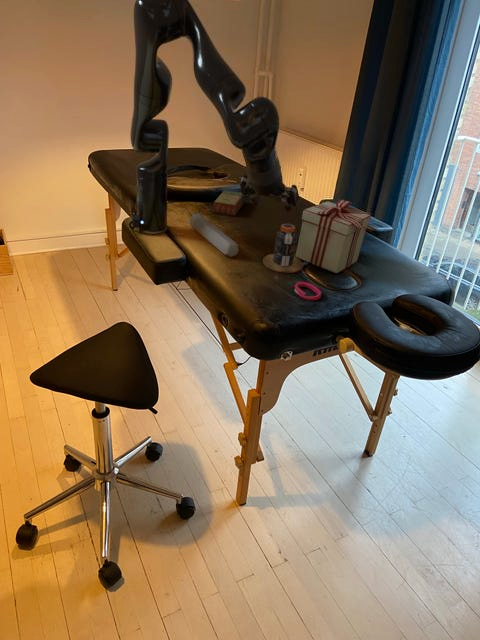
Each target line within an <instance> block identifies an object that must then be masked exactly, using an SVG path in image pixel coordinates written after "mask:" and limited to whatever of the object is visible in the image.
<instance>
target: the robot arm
mask: <svg viewBox="0 0 480 640" xmlns="http://www.w3.org/2000/svg"><path fill="white" fill-rule="evenodd" d="M133 31H134V32H133V33H134V47H135V60H134V74H133V75H134V76H133V110H132V117H131V122H130V123H131V124H130V132H129V133H130V134H129V136H130V137H129V138H130V139H129V140H130V144H131V147H132V149H133V150H134V151H135V152H137V153H145V154H147V153H148V154H155V155H154V156H153V157H152V158H150V159H148V160H145V161H143V162H140V163H138V164H137V166H136V197H135V201H136V202H135V205H136V207H135V208H136V214H131V220H130V221H129V222H128V228H129V229H131V230H132V231H133V230H134V229H137V230H138V233H139V234H146V235H160V234H164V233H166V232H167V231H168V160H169V158H168V157H169V143H170V142H169V141H170V128H169V125H168V122H167V121H166V120H165V119H159V118H156V117H158V115H159V114H161V113H162V112H163V111H165V109H166V108H167V106H168V105H169V103H170V100H171V95H172V90H173V76H172V73H171V71H170V68H169V67H168V65H166V63H165V62H164V61H163V59H161V58H160V56H159V55H158V52H159V49H160V47H161V46H163V45H166V44H168V43H170V42H174V41H176V40H179V39H181V38H183V39H185V40H186V41H187V42H188V43H189V44H190V46H191V48H192V49H191V50H192V63H193V64H192V66H193V68H192V69H193V75H194V79H195V81H196V83H197V85H198V87H199V89H200V90H201V91H202V92H203V94H204V95H205V96H206V97H207V99H208V100H209V101H210V103H211V104H212V105H213V106H214V108H215V109H216V111H217V113H218V115H219V117H220V119H221V121H222V123H223V127H224V129H225V132H226V135H227V137H228V139H229V141H230V143H231V144H232V146H234V147H235V148H236V149H238V150H241V153H242V157H243V159H244V160H243V161H244V162H245V169H246V174H243V175H242V177H241V179H240V182H239V187H240V192H241V193H242V194H243V195H244V197H247V196H248V197H249V198H250V200H251V202H252V204H254V205H255V206H258V205H259V202H260V201H261V200H260V199H261V198H260V196H263V197H269V198H272V199H274V200H275V201H276V202H277V203H282V204H283V205H284V209H285V213H289V212H290V211H292V210H293V207H297V206H298V202H299V200H300V193H299V190H298V189H299V188H298V186H297V185H296V184H291V186H286V184H285V183H284V179H283V172H282V166H281V163H280V159H279V156H278V154H277V147H276V145H277V141H278V136H279V131H280V115H279V111H278V109H277V106H276V104H275V103H274V101H272V100H271V99H270V98H268V97H265V96H256V97H255V98H253V99H252V100H250V101H248V103H246V104H244V105H243V106H242V107H240V106H241V104H243V102H244V100H245V98H246V95H247V89H246V86H245V84H244V83H243V81H242V80H241V79H240V77H239V76H238V75H237V73H236V72H235V71H234V70H233V69H232V68H231V66H230V65H229V63H228V62H226V60H225V59H224V57H223V56H222V55H221V54H220V52H219V51H218V49H217V48H216V46H215V44H214V43H213V40H212V39H211V37H210V36H209V35H210V34H209V33H208V31H207V29H206V28H205V26H204V24H203V23H202V21H201V19H200V17H199V16H198V14H197V12H196V10H195V9H194V8H193V5H192V4H191V2H190V1H189V0H135V2H134V5H133ZM239 107H240V108H239ZM238 108H239V109H238Z"/></svg>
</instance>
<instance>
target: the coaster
mask: <svg viewBox="0 0 480 640" xmlns="http://www.w3.org/2000/svg"><path fill="white" fill-rule="evenodd" d="M273 256H274V253H270V254H267V255H265V256H264V257H262V265H264V267H266V268H267V269H269V270H271V271H274V272H278V273H283V274H284V273H285V274H291V273H293V274H294V273H298V272H300V271H301V270H303V268H304V261H303V260H302V259H299V258H297V257H295V256H294V259H293V264H292V265H290V266H280V265H277V264H275V263H274V262H273Z"/></svg>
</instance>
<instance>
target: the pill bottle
mask: <svg viewBox="0 0 480 640" xmlns="http://www.w3.org/2000/svg"><path fill="white" fill-rule="evenodd" d="M297 241H298V235H297V233H296V226H295V225H294V224H291V223H282V224H281V225H280V230H279V231H277V232H276V235H275V243H274V249H273V254H274V256H273V262H274V263H275V264H277V265H280V266H290V265H292V264H293V259H294V257H295V254H296V248H297Z"/></svg>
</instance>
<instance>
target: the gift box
mask: <svg viewBox="0 0 480 640" xmlns="http://www.w3.org/2000/svg"><path fill="white" fill-rule="evenodd" d="M337 201H338V202H337V203H335V202H331V201H325V202H322V203H319V204H317V205H313V206H311V207H308V208H305V209H303V211H302V215H301V221H302V223H301V228H300V233H299V237H298V240H297V241H298V242H297V245H296V250H295V254H294V257H296V258H298V259H300V260H301V261H303V262H304V261H305V262H306V263H309V264H312V265H313V266H317V267H319V268H321V269H325V270H326V271H330V272H332V273H335V274H338V273H340V272H342V271H344V270H345V269H348V268H349V267H351V266H352V265H353V264H355V263H357V262H358V259H359V256H360V252H361V249H362V245H363V241H364V238H365V234H366V231H368V229H367V228H368V227H369V225H370V222H371V218H372V215H371V213H369V212H367V211H363V210H361V209H358V208H354V207H353V208H352V207H349V206H350V205H352V204H353V202H352V201H348V200H344V199H339V200H337Z"/></svg>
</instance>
